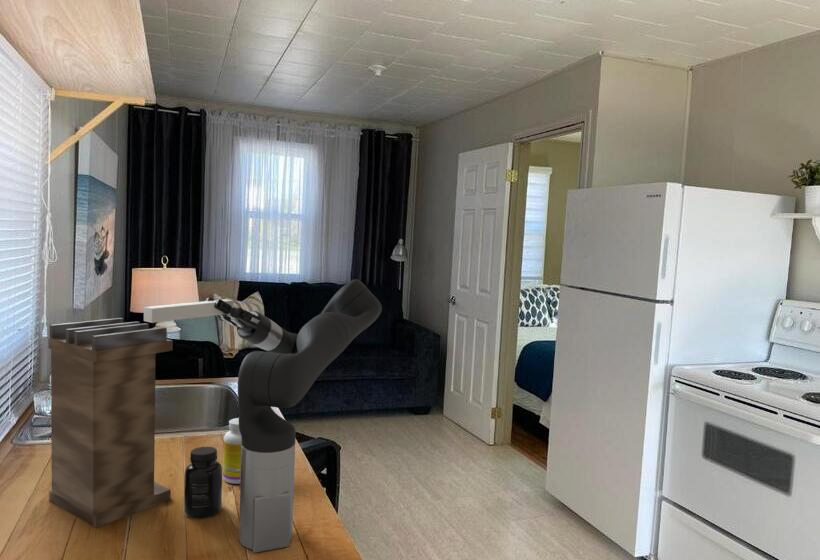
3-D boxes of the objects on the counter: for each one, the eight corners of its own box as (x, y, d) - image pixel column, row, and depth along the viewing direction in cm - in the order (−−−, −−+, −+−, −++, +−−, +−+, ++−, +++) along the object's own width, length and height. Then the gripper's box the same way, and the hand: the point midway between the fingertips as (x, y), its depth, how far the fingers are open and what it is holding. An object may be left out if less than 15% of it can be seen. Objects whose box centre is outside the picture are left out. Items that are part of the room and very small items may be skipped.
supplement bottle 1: (229, 508, 119) (230, 448, 118) (204, 523, 113) (205, 460, 112) (201, 500, 122) (202, 441, 121) (175, 514, 116) (176, 452, 114)
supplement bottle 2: (245, 486, 129) (247, 427, 128) (217, 482, 130) (218, 424, 129) (259, 474, 135) (261, 417, 134) (232, 470, 137) (233, 414, 136)
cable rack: (124, 475, 131) (125, 316, 128) (172, 498, 122) (174, 327, 119) (49, 500, 119) (48, 324, 116) (96, 527, 109) (96, 337, 106)
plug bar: (224, 312, 147) (224, 299, 146) (233, 313, 145) (233, 300, 145) (143, 321, 129) (143, 306, 129) (152, 323, 128) (152, 308, 127)
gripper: (247, 314, 160) (199, 284, 146) (285, 321, 152) (238, 290, 139) (235, 340, 157) (185, 313, 144) (273, 349, 149) (224, 320, 136)
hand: (211, 302), depth 141 cm, fingers closed on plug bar, 3 cm apart
